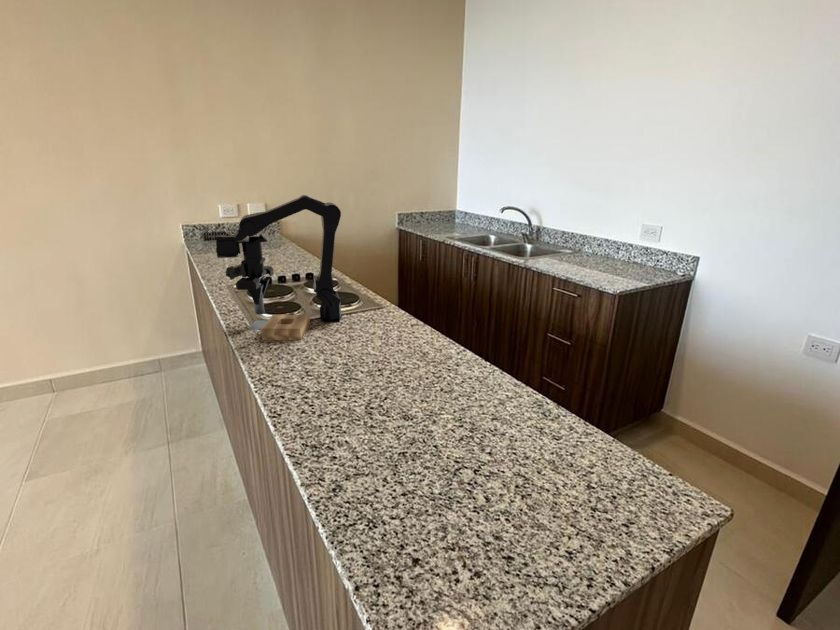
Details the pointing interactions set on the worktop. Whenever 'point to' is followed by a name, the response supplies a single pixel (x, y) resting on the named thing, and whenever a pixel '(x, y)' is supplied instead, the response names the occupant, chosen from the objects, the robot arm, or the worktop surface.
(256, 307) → the pin
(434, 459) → the worktop surface
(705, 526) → the worktop surface
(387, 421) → the worktop surface
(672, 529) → the worktop surface
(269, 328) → the socket block
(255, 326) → the mat
